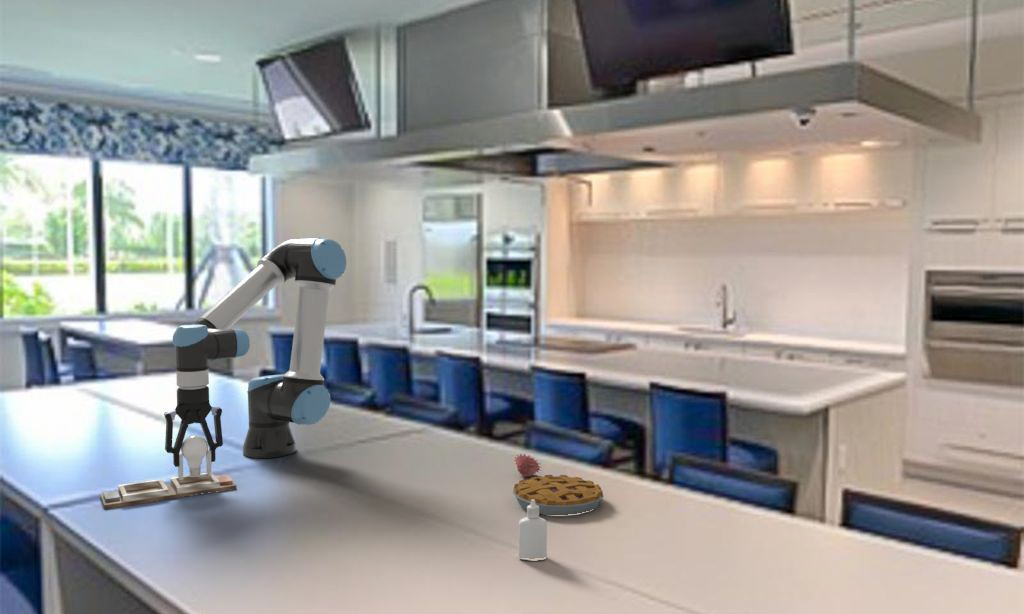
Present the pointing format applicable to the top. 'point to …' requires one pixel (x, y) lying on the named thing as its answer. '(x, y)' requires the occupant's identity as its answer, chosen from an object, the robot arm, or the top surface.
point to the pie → (558, 494)
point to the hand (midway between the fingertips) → (195, 476)
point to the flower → (527, 465)
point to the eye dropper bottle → (532, 534)
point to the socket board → (164, 490)
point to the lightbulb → (194, 453)
